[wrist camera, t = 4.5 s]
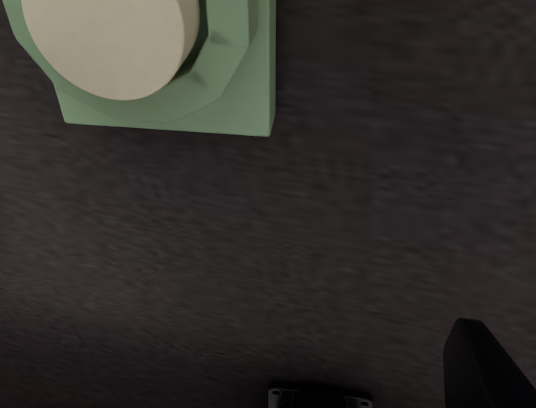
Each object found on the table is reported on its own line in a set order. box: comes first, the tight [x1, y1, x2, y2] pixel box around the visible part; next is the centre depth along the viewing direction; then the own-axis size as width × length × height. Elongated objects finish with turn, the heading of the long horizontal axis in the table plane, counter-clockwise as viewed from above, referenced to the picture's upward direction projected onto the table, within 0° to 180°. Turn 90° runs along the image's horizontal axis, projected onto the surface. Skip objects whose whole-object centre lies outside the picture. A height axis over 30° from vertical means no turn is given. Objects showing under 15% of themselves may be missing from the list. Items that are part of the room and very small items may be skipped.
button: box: [21, 0, 200, 100], centre depth 13 cm, size 4×4×2 cm
